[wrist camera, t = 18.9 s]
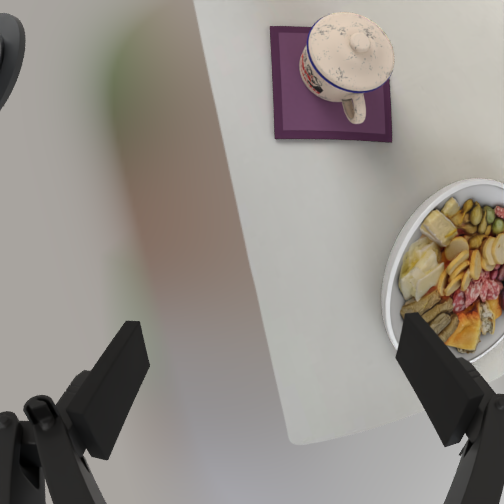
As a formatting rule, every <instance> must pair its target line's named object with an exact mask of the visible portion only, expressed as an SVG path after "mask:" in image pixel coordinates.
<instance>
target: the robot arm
mask: <svg viewBox="0 0 504 504" xmlns="http://www.w3.org/2000/svg"><path fill="white" fill-rule="evenodd" d="M3 58H4V41H3V38H2V36H1V35H0V70H1V67H2V63H3ZM396 360H397V361H398V363H399V365H400V366H401V368H402V370H403V372H404V373H405V375H406V377H407V379H408V380H409V382H410V384H411V386H412V387H413V389H414V391H415V393H416V394H417V396H418V398H419V400H420V402H421V403H422V405H423V407H424V409H425V411H426V412H427V414H428V416H429V418H430V420H431V422H432V424H433V425H434V428H435V429H436V431H437V433H438V435H439V437H440V439H441V441H442V443H443V445H444V447H447V446H450V445H453V444H456V443H459V442H460V441H461V439H462V437H463V435H464V434H465V433H466V435H467V437H468V438H469V439H468V441H467V442H466V444H465V446H464V447H463V449H462V450H461V452H460V454H459V455H460V456H461V454H462V453H463V454H462V457H461V460H460V463H459V466H458V468H457V472H456V474H455V477H454V479H453V482H452V485H451V487H450V490H449V492H448V495H447V497H446V499H445V502H444V504H499V502H500V497H501V494H502V490H503V486H504V394H496V393H495V392H494V391H493V390H492V389H491V387H490V386H489V385H488V383H487V382H486V381H485V380H484V378H483V377H482V376H480V373H479V372H478V371H476V369H475V367H474V366H473V365H472V364H471V363H470V362H469V361H467V360H466V359H464V358H463V357H459V358H456V357H455V355H454V354H453V353H452V352H451V350H450V349H449V348H448V347H447V346H446V344H445V343H444V342H443V341H442V340H441V338H440V337H439V336H438V335H437V334H436V333H435V331H434V330H433V329H432V328H431V327H430V326H429V324H428V323H427V322H426V321H425V320H424V319H423V317H422V316H421V315H420V314H419V313H418V312H413V313H405V315H404V320H403V326H402V331H401V335H400V340H399V345H398V349H397V354H396ZM149 367H150V364H149V360H148V356H147V351H146V347H145V343H144V338H143V334H142V329H141V325H140V322H139V321H126V322H125V323H124V324H123V326H122V327H121V329H120V330H119V332H118V333H117V334H116V336H115V337H114V338H113V340H112V341H111V343H110V344H109V345H108V347H107V348H106V350H105V351H104V353H103V354H102V356H101V357H100V358H99V360H98V361H97V363H96V364H95V366H94V367H93V369H92V370H91V371H87V370H84V371H82V372H81V373H80V374H78V375H77V376H76V377H75V378H74V379H73V381H72V382H71V385H69V387H68V388H67V390H66V392H64V394H63V395H62V397H61V398H60V400H59V401H58V403H57V404H56V405H55V404H54V402H53V401H52V399H51V398H50V397H48V396H45V395H39V396H35V397H32V398H30V399H29V400H28V401H27V402H26V404H25V405H24V409H23V411H24V412H25V414H26V416H27V418H28V420H29V421H19V420H18V418H17V416H16V415H15V413H13V412H8V411H6V412H2V413H0V504H46V502H45V479H46V483H47V486H48V489H49V492H50V495H51V498H52V501H53V504H106V502H105V500H104V498H103V496H102V494H101V492H100V490H99V488H98V486H97V484H96V481H95V480H94V477H93V475H92V473H91V471H90V469H89V466H88V464H87V462H86V459H85V458H84V456H83V454H84V452H85V449H87V450H88V452H89V454H90V455H91V456H92V457H95V458H99V459H103V460H108V459H109V456H110V454H111V452H112V450H113V447H114V445H115V442H116V440H117V438H118V436H119V433H120V431H121V429H122V426H123V424H124V422H125V419H126V417H127V415H128V413H129V410H130V408H131V406H132V404H133V401H134V399H135V397H136V395H137V393H138V391H139V388H140V386H141V384H142V382H143V380H144V378H145V375H146V373H147V371H148V369H149Z"/></svg>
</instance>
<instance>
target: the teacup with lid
mask: <svg viewBox="0 0 504 504" xmlns="http://www.w3.org/2000/svg"><path fill="white" fill-rule="evenodd" d="M393 67H394V51H393V47H392V44H391V42H390V40H389V38H388V37H387V35H386V34H385V32H384V31H383V30H382V29H381V28H380V27H379V26H378V25H377V24H375V23H374V22H373V21H371V20H370V19H368V18H366V17H364V16H361V15H358V14H355V13H349V12H338V13H333V14H329V15H327V16H324V17H323V18H321V19H319V20H318V21H317V22H316V23H315V24H314V25H313V26H312V28H311V30H310V32H309V34H308V37H307V44H306V46H305V48H304V51H303V53H302V55H301V58H300V62H299V70H300V74H301V77H302V80H303V82H304V83H305V85H306V86H307V87H308V89H309V90H310V91H311V92H312V93H314V94H315V95H317V96H318V97H320V98H322V99H324V100H327V101H332V102H342V105H343V109H344V112H345V114H346V116H347V118H348V120H349V121H350V122H351V123H353V124H360V123H362V122H364V120H365V117H366V105H365V100H364V95H363V93H366V92H370V91H373V90H376V89H378V88H379V87H381V86H382V85H384V84H385V83H386V82H387V80H388V79H389V77H390V76H391V74H392V71H393ZM352 99H353V102H352ZM353 104H354V106H353Z"/></svg>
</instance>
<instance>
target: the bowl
mask: <svg viewBox="0 0 504 504" xmlns="http://www.w3.org/2000/svg"><path fill="white" fill-rule="evenodd" d="M381 306H382V315H383V321H384V325H385V328H386V331H387V334H388V336H389V339H390V341H391V342H392V344H393V346H394V348H395V349H396V351H397V349H398V345H399V340H400V335H401V331H402V326H403V320H404V315H405V313H413V312H418V313H419V314H420V315H421V316H422V317H423V319H424V320H425V321H426V322H427V323H428V324H429V326H430V327H431V328H432V329H433V330H434V331H435V333H436V334H437V335H438V336H439V337H440V338H441V340H442V341H443V342H444V343H445V344H446V346H447V347H448V348H449V349H450V350H451V352H452V353H453V354H454V355H455V357H456V358H459V357H463V358H464V359H466V360H467V361H469V362H470V363H472V362H474V361H476V360H477V359H479V358H481V357H482V356H484V355H485V354H486V353H488V352H489V351H490V350H491V349H493V348H494V347H495V346H496V345H497V344H498V343H499V342H500V341H501V340H502V339H503V338H504V184H503V183H501V182H498V181H495V180H491V179H484V178H471V179H465V180H461V181H457V182H454V183H452V184H450V185H447V186H445V187H444V188H442V189H440V190H439V191H437V192H436V193H434V194H433V195H432V196H430V197H429V198H428V199H427V200H426V201H424V202H423V203H422V204H421V205H420V206H419V207H418V208H417V210H416V211H415V212H414V213H413V214H412V216H411V217H410V218H409V219H408V221H407V222H406V224H405V225H404V227H403V228H402V230H401V232H400V233H399V235H398V237H397V239H396V241H395V243H394V245H393V248H392V250H391V253H390V255H389V258H388V261H387V265H386V268H385V272H384V277H383V283H382V294H381Z"/></svg>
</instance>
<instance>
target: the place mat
mask: <svg viewBox="0 0 504 504" xmlns="http://www.w3.org/2000/svg"><path fill="white" fill-rule="evenodd" d="M311 28H312V27H294V26H270V40H271V59H272V81H273V104H274V132H275V139H338V140H361V141H378V142H392V120H391V99H390V85H389V79H388V80H387V82H386V83H385V84H384V85H382V86H381V87H379V88H378V89H376V90H373V91H370V92H366V93H363V95H364V100H365V105H366V117H365V120H364V122H362V123H360V124H353V123H351V122H350V121H349V120H348V118H347V116H346V114H345V112H344V109H343V105H342V102H332V101H327V100H324V99H322V98H320V97H318V96H317V95H315V94H314V93H312V92H311V91H310V90H309V89H308V87H307V86H306V85H305V83H304V82H303V80H302V77H301V74H300V70H299V62H300V58H301V55H302V53H303V51H304V48H305V46H306V44H307V37H308V34H309V32H310V30H311ZM352 102H353V99H352ZM353 106H354V104H353Z"/></svg>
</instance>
